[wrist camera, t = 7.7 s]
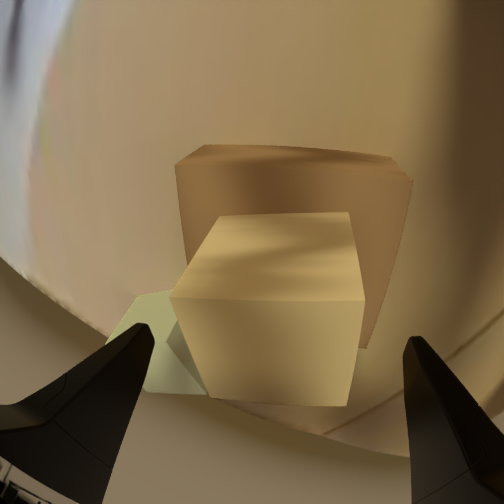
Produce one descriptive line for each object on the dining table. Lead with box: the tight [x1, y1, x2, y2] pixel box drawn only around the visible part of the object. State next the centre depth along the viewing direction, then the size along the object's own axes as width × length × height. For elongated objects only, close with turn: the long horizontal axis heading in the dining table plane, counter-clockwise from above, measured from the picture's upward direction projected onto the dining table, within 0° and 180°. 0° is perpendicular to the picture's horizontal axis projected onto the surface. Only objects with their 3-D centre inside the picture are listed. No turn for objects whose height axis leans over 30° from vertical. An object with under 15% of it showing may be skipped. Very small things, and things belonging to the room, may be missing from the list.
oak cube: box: [169, 212, 365, 406], centre depth 11 cm, size 5×5×5 cm
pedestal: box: [175, 145, 413, 349], centre depth 14 cm, size 9×9×4 cm
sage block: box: [105, 290, 208, 395], centre depth 19 cm, size 5×5×5 cm
